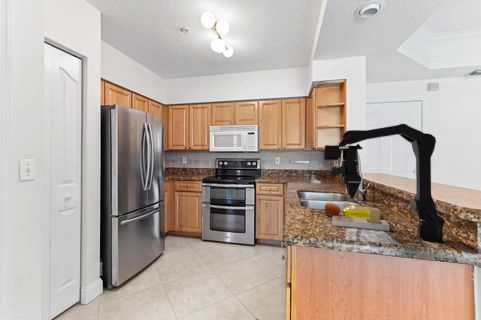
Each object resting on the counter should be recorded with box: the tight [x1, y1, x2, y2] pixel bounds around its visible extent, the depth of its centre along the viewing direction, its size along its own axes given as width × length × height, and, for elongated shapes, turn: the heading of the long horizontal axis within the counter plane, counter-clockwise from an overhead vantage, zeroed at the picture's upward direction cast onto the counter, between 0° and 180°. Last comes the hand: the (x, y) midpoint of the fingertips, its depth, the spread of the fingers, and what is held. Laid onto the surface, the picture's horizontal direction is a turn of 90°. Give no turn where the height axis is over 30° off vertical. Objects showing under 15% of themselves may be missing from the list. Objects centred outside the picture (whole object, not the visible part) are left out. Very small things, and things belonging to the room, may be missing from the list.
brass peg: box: [368, 207, 381, 224], centre depth 98 cm, size 4×4×8 cm
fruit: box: [323, 202, 341, 218], centre depth 118 cm, size 8×8×8 cm
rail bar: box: [332, 215, 391, 232], centre depth 100 cm, size 22×8×3 cm, turn 68°
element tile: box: [342, 204, 378, 219], centre depth 116 cm, size 15×15×5 cm
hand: (350, 196), depth 94 cm, fingers open, 9 cm apart
